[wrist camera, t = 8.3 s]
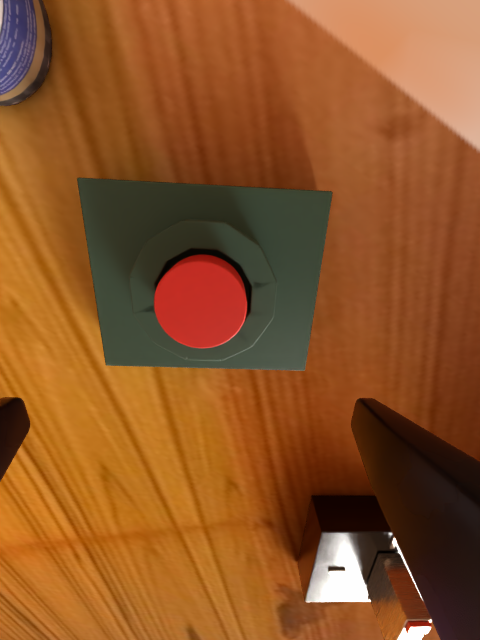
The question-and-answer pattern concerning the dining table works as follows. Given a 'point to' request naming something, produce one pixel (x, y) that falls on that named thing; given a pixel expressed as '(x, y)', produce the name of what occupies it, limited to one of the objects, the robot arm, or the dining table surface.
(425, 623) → the knob
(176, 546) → the dining table surface
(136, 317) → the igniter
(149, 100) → the dining table surface
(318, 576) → the panel
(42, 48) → the pill bottle
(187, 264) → the button
